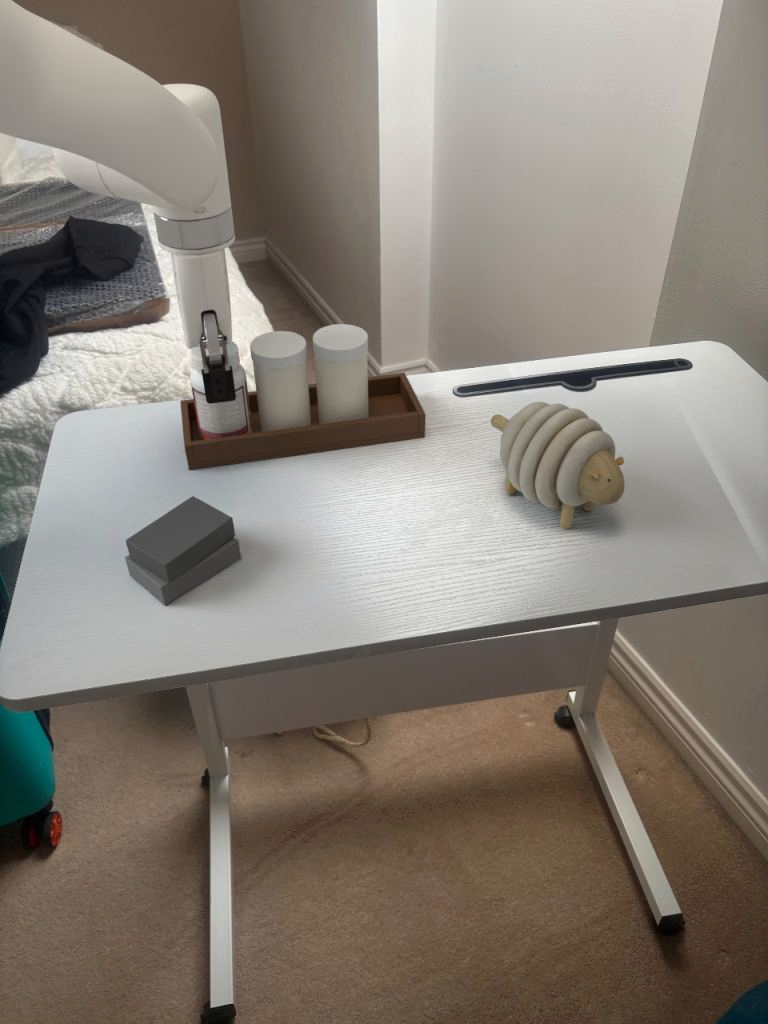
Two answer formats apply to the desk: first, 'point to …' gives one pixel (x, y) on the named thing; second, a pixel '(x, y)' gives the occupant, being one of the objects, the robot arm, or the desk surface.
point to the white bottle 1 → (281, 380)
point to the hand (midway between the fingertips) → (218, 383)
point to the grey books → (182, 549)
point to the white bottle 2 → (341, 373)
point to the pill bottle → (222, 415)
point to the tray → (312, 428)
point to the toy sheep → (559, 458)
